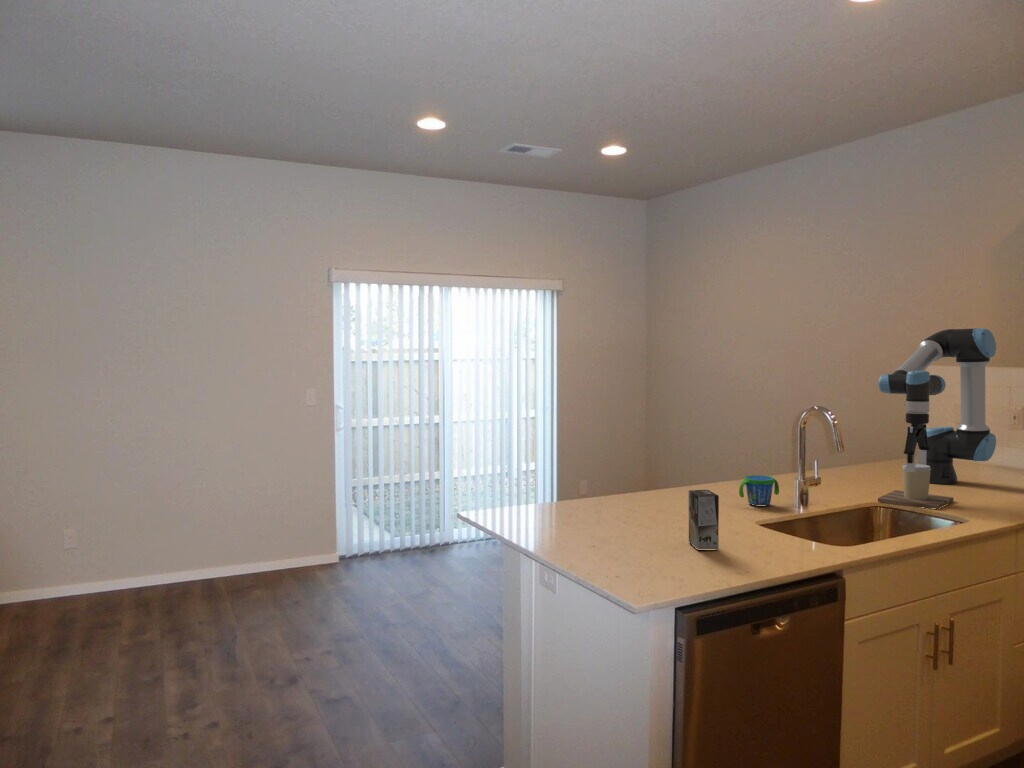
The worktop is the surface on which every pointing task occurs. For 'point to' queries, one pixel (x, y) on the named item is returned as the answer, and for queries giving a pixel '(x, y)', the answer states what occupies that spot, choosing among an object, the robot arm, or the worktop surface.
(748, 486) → the snack cup
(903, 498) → the walnut board
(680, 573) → the worktop surface
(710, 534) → the coffee box
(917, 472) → the coffee cup
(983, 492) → the worktop surface
